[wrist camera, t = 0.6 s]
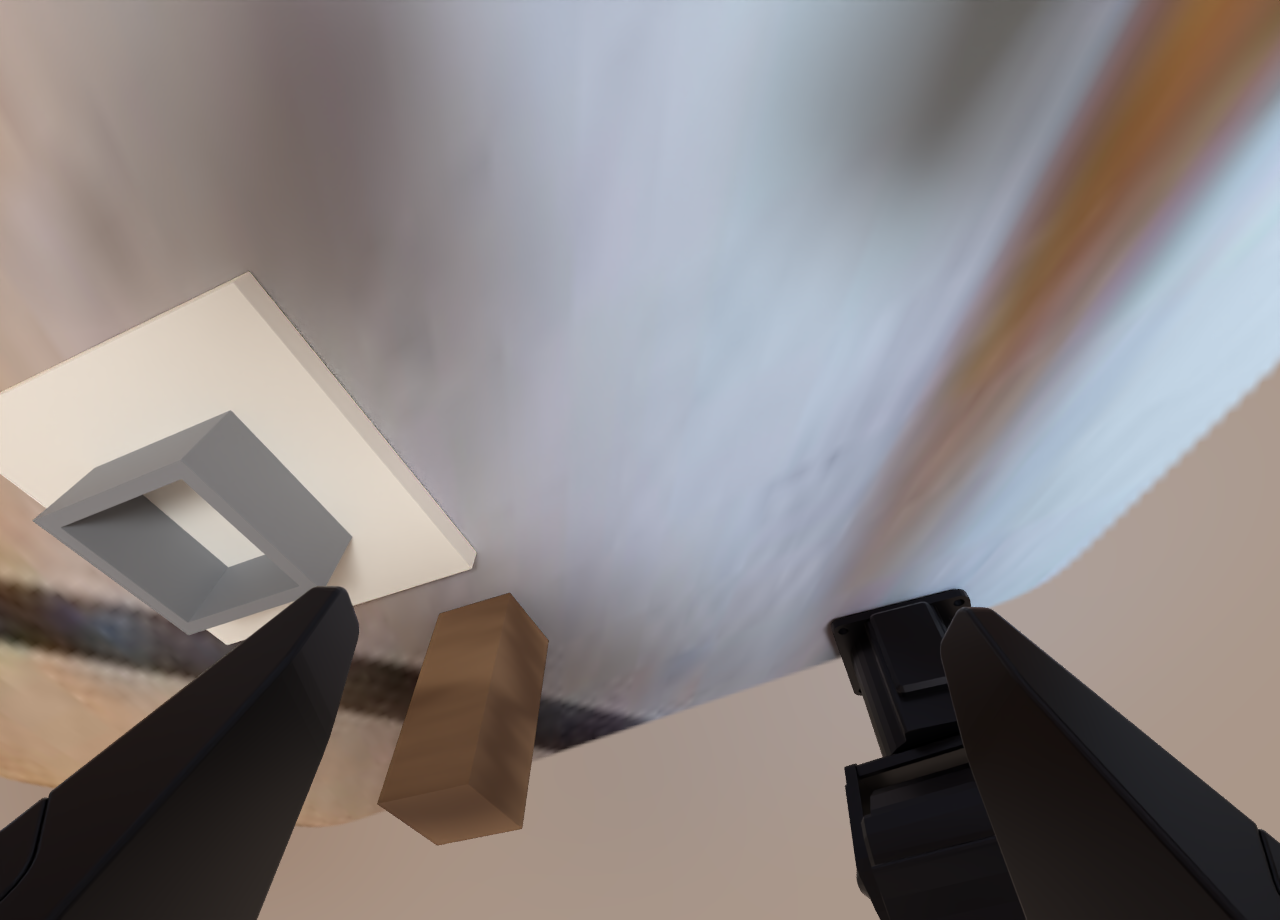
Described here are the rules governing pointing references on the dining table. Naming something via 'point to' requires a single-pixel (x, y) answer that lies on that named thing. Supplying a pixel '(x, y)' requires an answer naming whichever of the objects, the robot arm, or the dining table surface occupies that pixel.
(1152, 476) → the dining table surface
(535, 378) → the dining table surface
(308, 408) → the thin cream square plate
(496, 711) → the wooden peg
